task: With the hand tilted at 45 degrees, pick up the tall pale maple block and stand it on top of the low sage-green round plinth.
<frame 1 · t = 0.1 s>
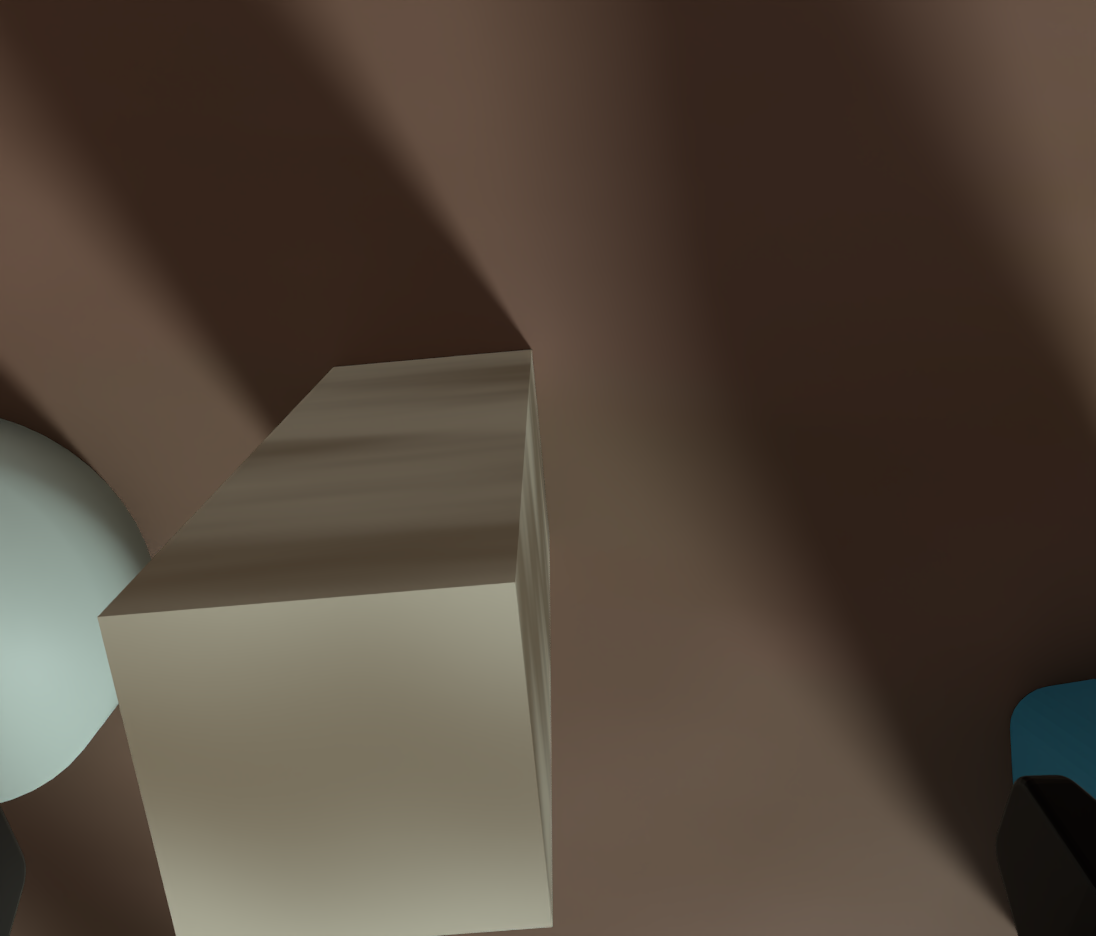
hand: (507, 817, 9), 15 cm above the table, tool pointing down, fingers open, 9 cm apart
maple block: (444, 453, 24), on the table
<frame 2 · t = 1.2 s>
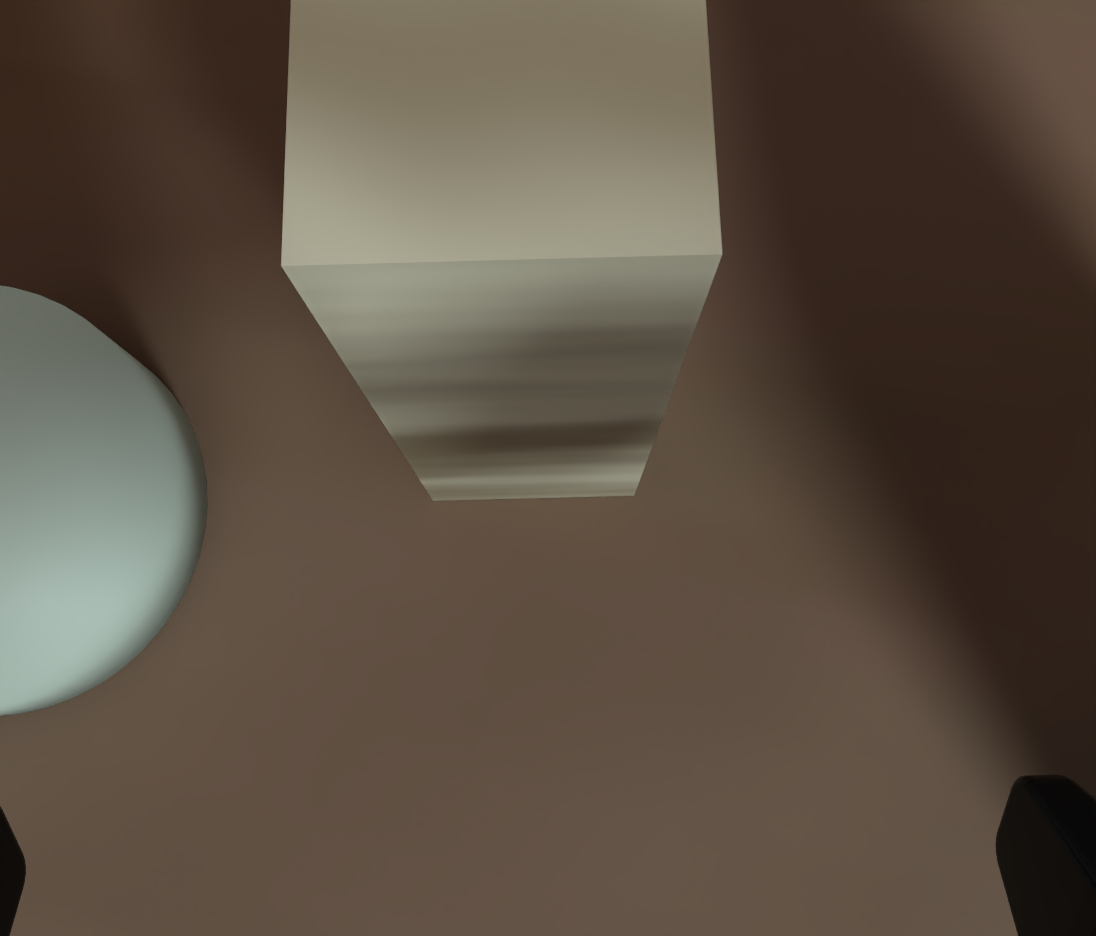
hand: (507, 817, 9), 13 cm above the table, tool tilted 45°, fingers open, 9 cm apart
plinth: (16, 516, 24), on the table
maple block: (531, 401, 24), on the table
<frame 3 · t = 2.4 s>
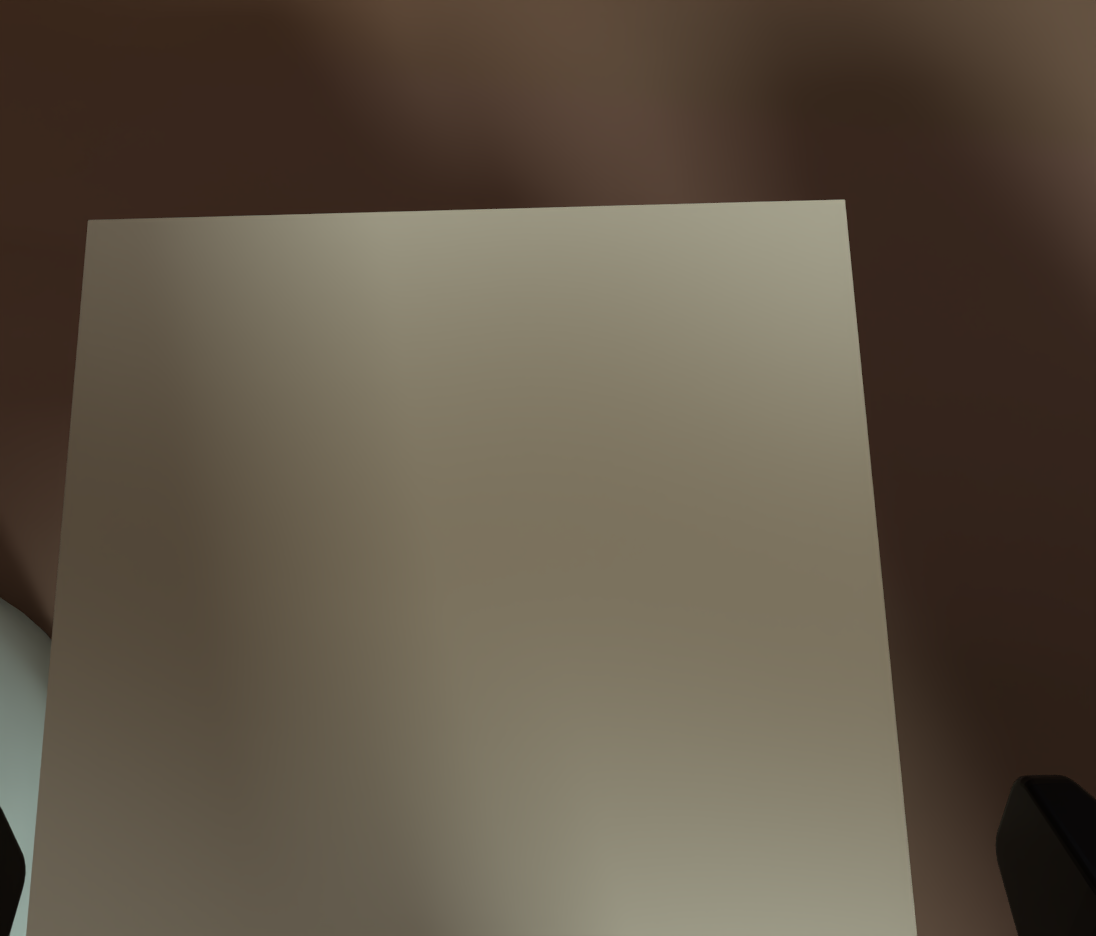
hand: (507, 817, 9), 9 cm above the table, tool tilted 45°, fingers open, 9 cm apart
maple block: (531, 670, 18), on the table
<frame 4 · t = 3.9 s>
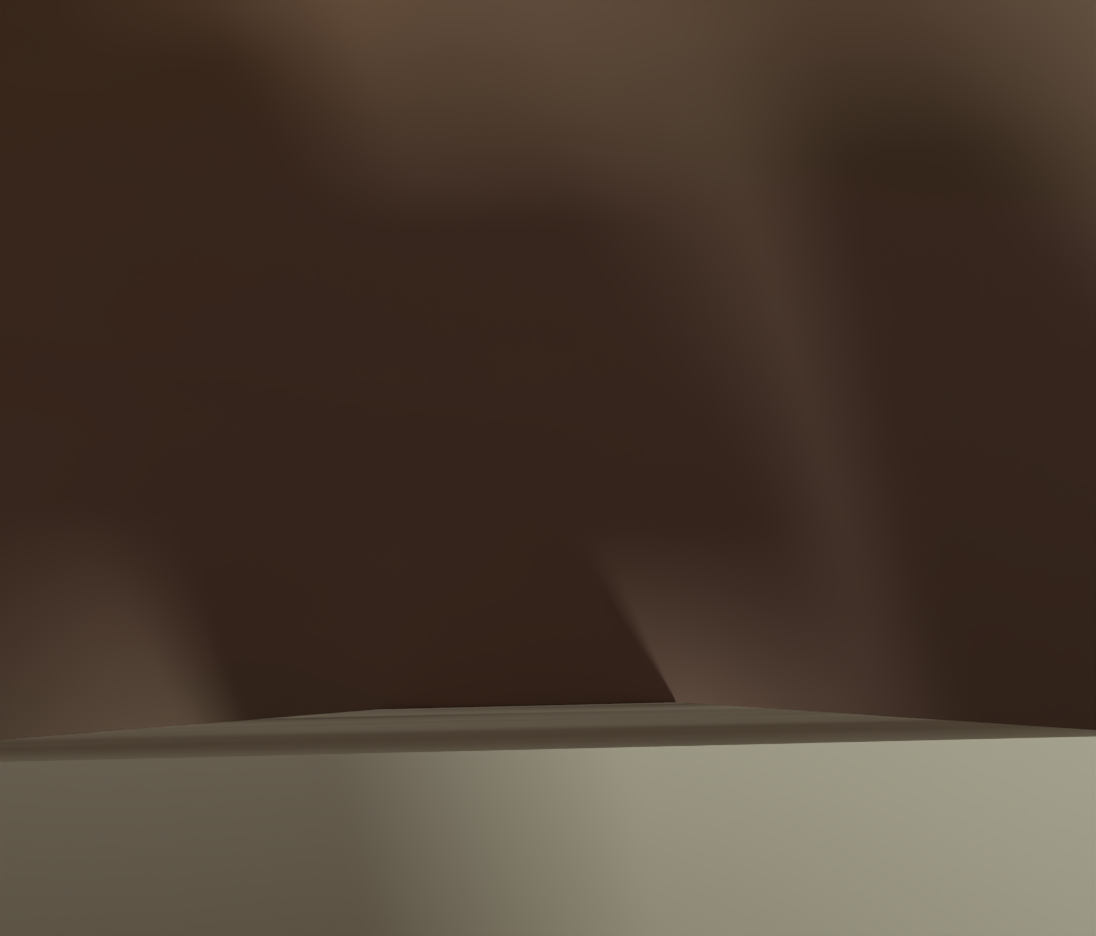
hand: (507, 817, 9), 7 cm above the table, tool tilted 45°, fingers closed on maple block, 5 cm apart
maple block: (530, 864, 15), on the table, touching gripper
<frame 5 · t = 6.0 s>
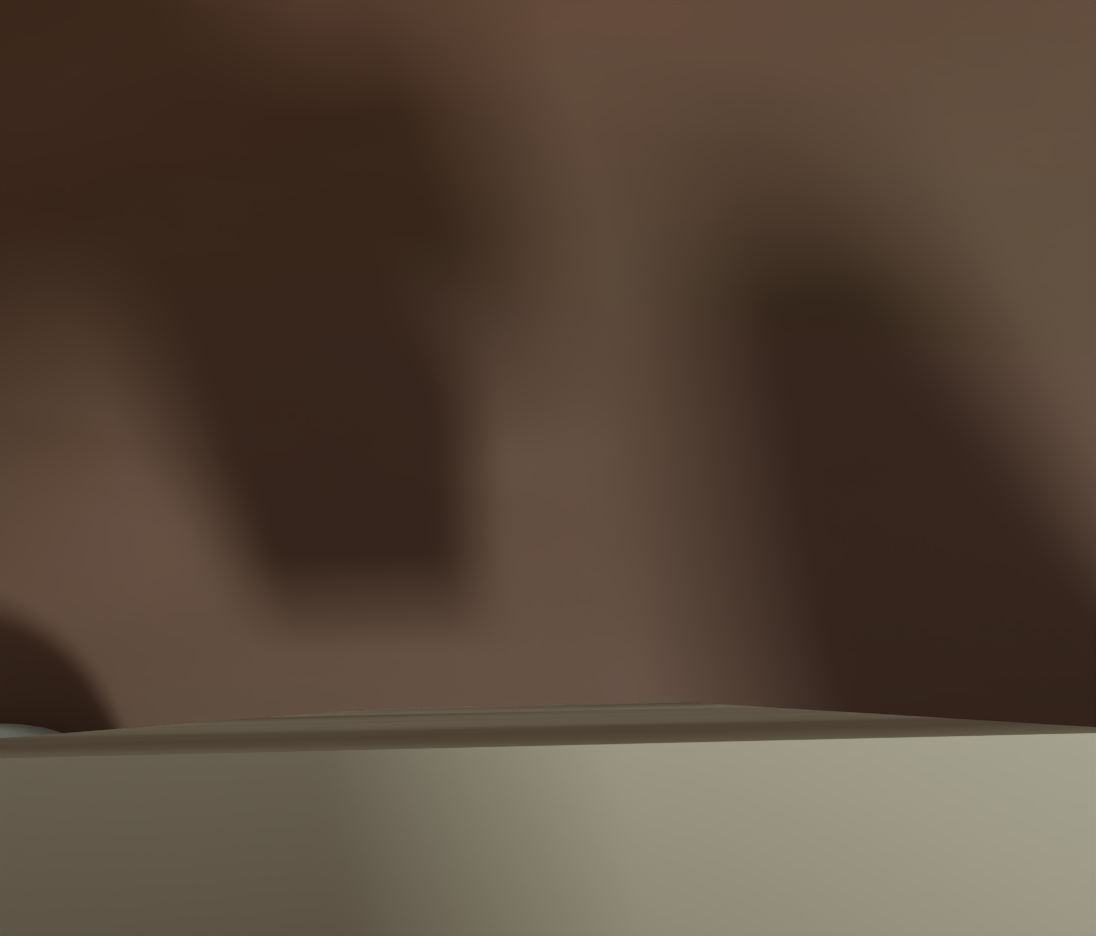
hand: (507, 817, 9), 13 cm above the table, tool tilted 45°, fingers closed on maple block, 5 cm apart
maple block: (530, 863, 15), point 7 cm above the table, touching gripper
when the fingers open (11 cm above the table, at t = 8.1 s): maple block drops 2 cm, resting on plinth.
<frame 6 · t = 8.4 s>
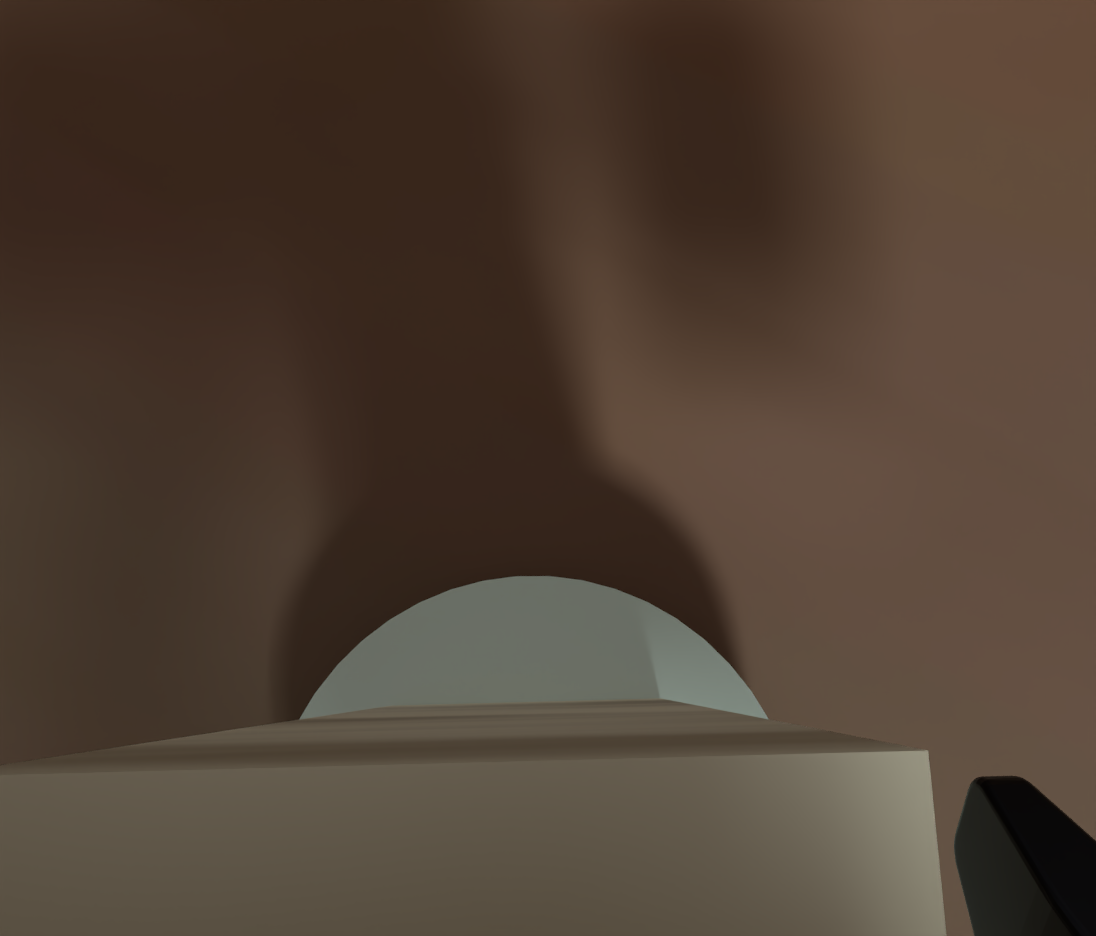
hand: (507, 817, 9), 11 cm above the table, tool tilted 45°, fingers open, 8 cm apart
plinth: (536, 824, 20), on the table, touching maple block
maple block: (528, 844, 17), point 3 cm above the table, touching plinth
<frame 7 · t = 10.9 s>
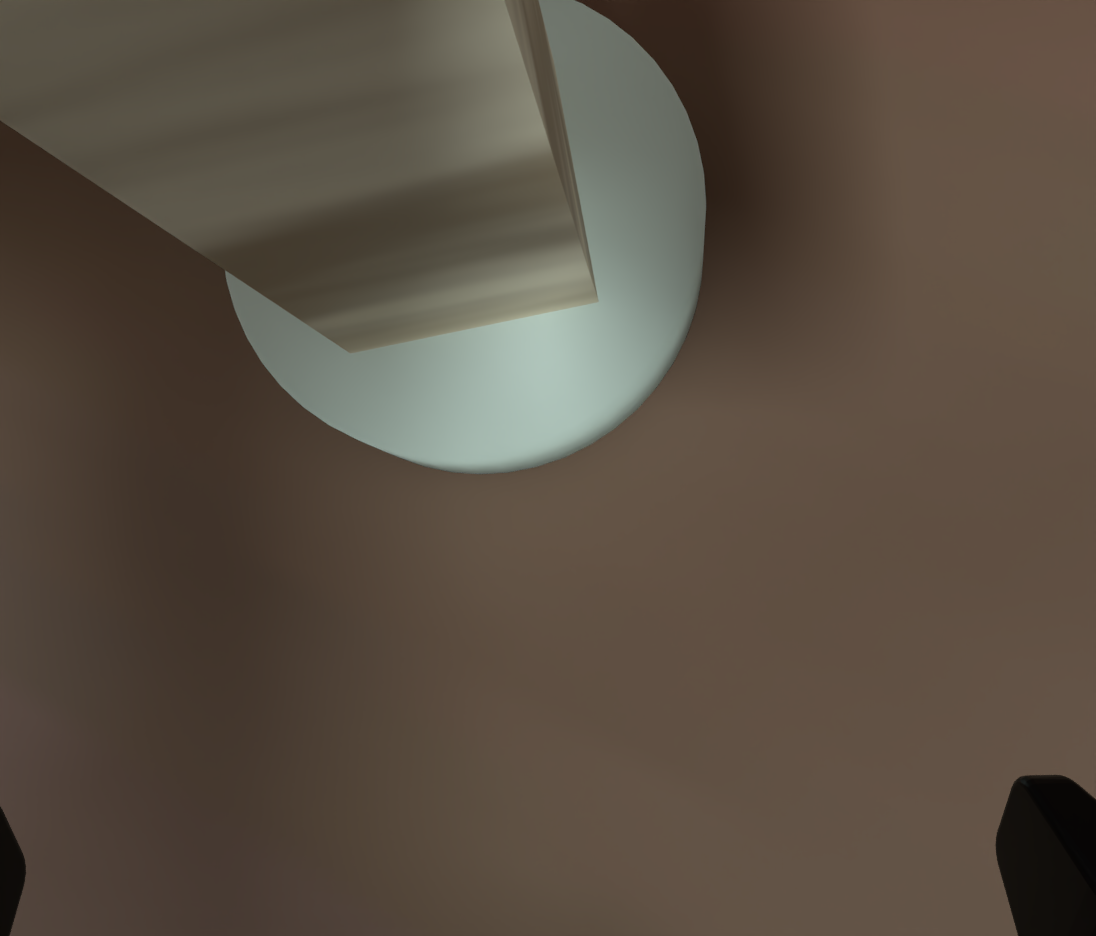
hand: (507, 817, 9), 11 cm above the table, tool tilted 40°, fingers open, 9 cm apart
plinth: (487, 263, 22), on the table, touching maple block
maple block: (452, 207, 19), point 3 cm above the table, touching plinth
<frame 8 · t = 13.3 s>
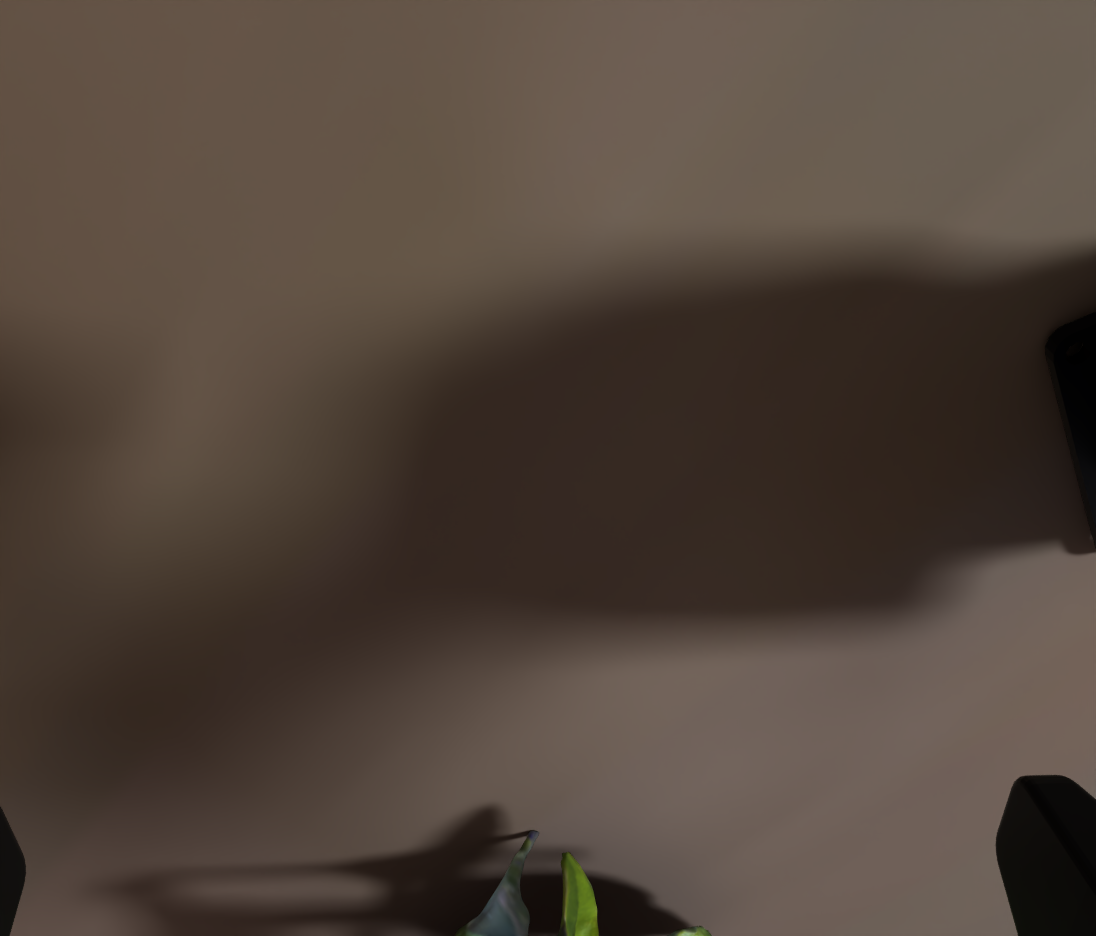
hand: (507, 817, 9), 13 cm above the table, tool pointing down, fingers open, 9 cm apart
passion flower: (510, 904, 31), on the table
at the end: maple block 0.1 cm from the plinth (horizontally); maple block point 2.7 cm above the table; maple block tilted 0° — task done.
